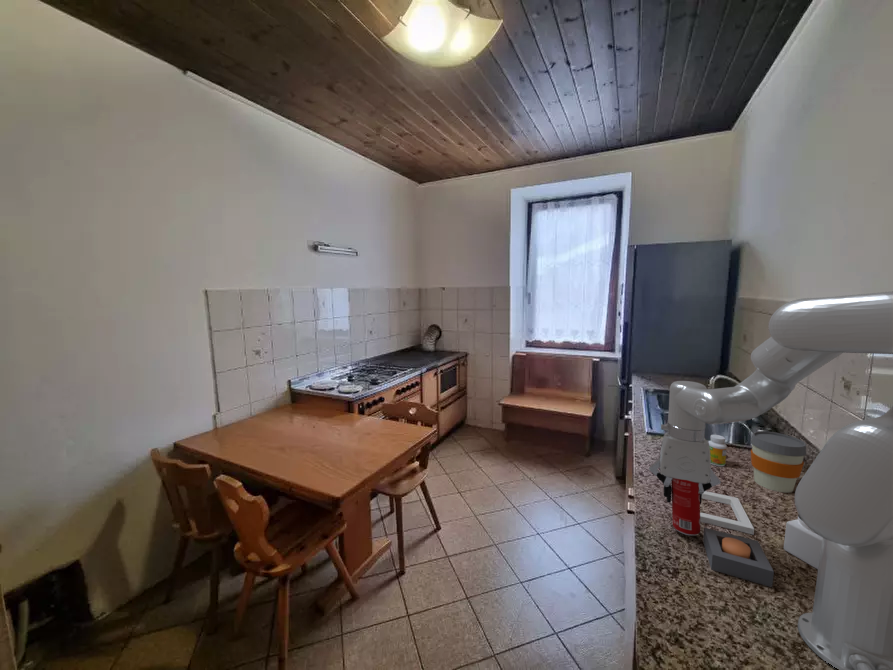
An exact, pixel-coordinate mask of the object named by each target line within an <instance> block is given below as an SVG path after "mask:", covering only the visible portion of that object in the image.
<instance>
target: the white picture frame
mask: <svg viewBox="0 0 893 670" xmlns="http://www.w3.org/2000/svg"><path fill="white" fill-rule="evenodd" d="M702 499H703V500H708V501H712V502H715V503H721V504H726V505H729V506H730V507H731V509H732V511H733V513H734V516H735V518H736V519H737V520H734V519H731V518H727V517H722V516H718V515H713V514H708V513H705V512H701V511H700V523H705V524H707V525H713V526H717V527H720V528H725V529H729V530H733V531H738V532H741V533H746V534H749V535H754V534H755V527H754V526H753V524H752V522H751V521H750V518H749V516H748V515H747V512H746V511H745V509H744V507H743V505H742V503H741V502H740V499H739V498H738V497H734V496H731V495H726V494H722V493H721V494H720V493H716V492H711V491H708V490H706V491H704V493H703V494H702Z"/></svg>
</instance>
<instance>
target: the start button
mask: <svg viewBox="0 0 893 670" xmlns="http://www.w3.org/2000/svg"><path fill="white" fill-rule="evenodd" d="M750 551H751V549H750V547H749V546H748V545H747V544H745V543H744V542H742V541H740V540H737V539H734V538H730V537H726V538H723V540H722V552H725V553H728V554H732V555H736V556H739V557H743V558H747V559H750Z"/></svg>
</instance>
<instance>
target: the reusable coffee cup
mask: <svg viewBox="0 0 893 670" xmlns="http://www.w3.org/2000/svg"><path fill="white" fill-rule="evenodd" d="M750 444H751V447H752V448H751V449H750V461H751V467H752V468H753V480H754V482H755V483H756V484H757V485H759V486H761V487H763V488H765V489H767V490H771V491H774V492H778V493H779V492H780V493H786V494H788V493H793V492H794V489H795V486H796V483H797V479H799V478H800V477H801V474H802V470H803V467H804V464H805V462H804V457H805V456H806V455H807V444H806V443H805V441H803V440H801V439H799V438H797V437H793V436H791V435H787V434H783V433H779V432H774V431H767V430H764V431H763V430H759V431H754V432H752V433H751V439H750Z"/></svg>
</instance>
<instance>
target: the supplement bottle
mask: <svg viewBox="0 0 893 670" xmlns="http://www.w3.org/2000/svg"><path fill="white" fill-rule="evenodd" d="M708 442H709V447H710V458H711V466H715V465H716V466H715V467H725V466H726V462H727V452H728V451H727V450H728V446H727V444H726V438H725V436H722V435H719V434H711V435H710V440H708Z"/></svg>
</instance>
